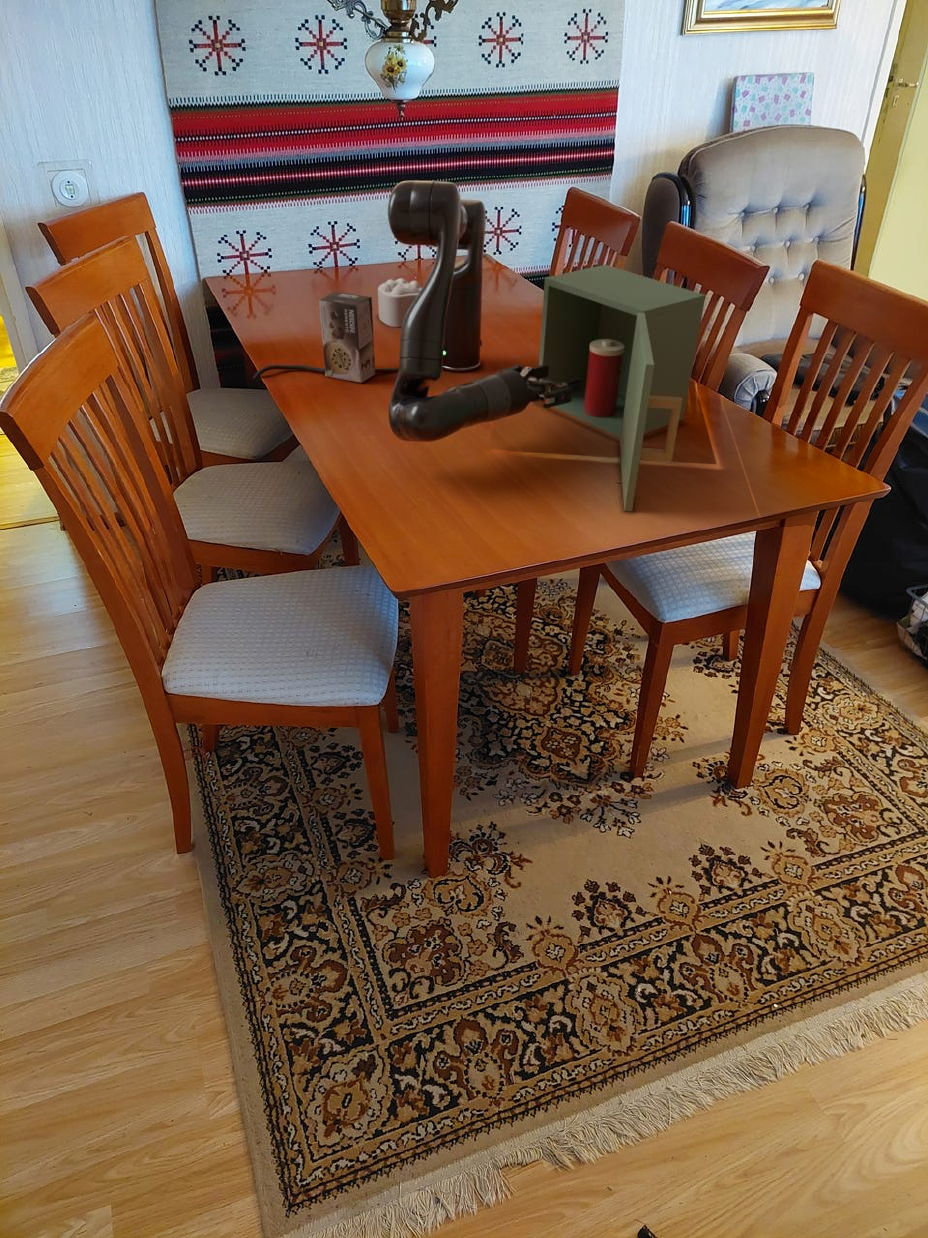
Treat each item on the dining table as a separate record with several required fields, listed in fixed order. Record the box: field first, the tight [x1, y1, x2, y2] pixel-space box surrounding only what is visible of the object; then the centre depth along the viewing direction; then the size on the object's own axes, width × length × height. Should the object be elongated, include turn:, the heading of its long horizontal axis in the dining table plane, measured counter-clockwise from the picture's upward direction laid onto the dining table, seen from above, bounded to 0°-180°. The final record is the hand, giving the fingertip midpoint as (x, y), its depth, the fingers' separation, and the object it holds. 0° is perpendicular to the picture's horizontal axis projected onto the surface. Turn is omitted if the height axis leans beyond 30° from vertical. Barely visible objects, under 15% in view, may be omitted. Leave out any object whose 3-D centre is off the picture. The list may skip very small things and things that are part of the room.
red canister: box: [583, 339, 625, 418], centre depth 167 cm, size 6×6×14 cm
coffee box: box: [318, 291, 376, 384], centre depth 182 cm, size 9×6×16 cm
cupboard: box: [538, 264, 706, 438], centre depth 166 cm, size 16×24×24 cm, turn 39°
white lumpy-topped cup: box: [377, 277, 423, 328], centre depth 216 cm, size 10×13×9 cm
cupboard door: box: [619, 313, 682, 512], centre depth 144 cm, size 6×24×24 cm, turn 174°
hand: (563, 376), depth 160 cm, fingers open, 8 cm apart
